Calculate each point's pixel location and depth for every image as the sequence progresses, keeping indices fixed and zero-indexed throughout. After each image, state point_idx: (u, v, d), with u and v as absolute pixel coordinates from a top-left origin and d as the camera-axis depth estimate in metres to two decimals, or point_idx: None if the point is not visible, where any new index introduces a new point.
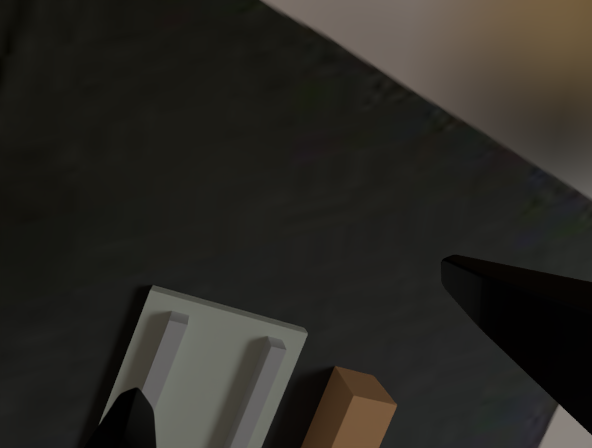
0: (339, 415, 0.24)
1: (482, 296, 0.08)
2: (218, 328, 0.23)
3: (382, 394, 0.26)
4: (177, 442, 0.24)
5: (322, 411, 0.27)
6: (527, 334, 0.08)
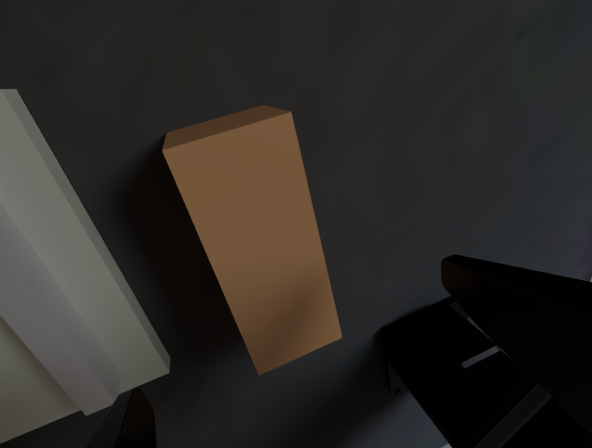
0: None
1: (482, 296, 0.08)
2: None
3: (261, 115, 0.11)
4: None
5: None
6: (527, 334, 0.08)
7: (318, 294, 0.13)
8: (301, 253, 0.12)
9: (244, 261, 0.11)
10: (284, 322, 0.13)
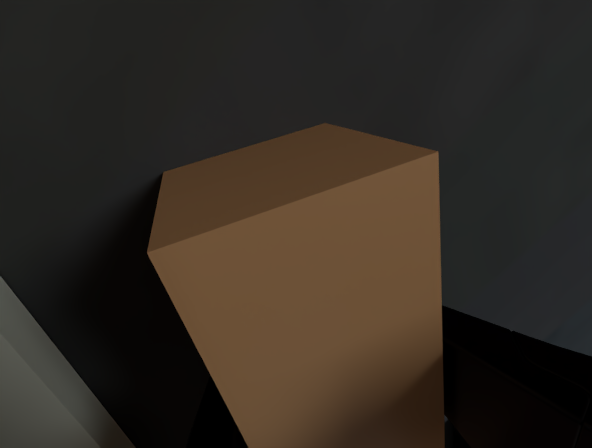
0: None
1: None
2: None
3: (354, 152, 0.05)
4: None
5: None
6: None
7: None
8: (408, 399, 0.07)
9: (309, 430, 0.06)
10: None
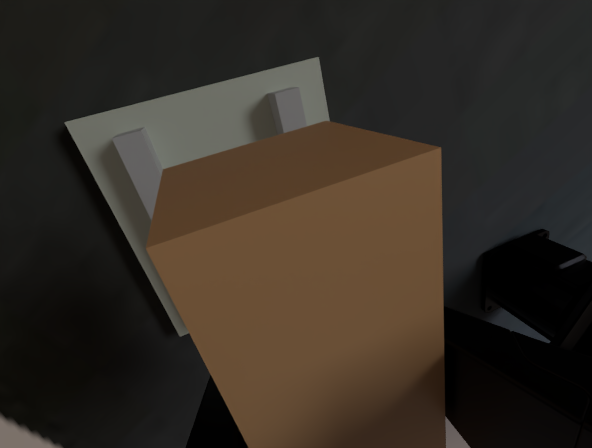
0: None
1: None
2: (195, 121, 0.15)
3: (356, 149, 0.05)
4: None
5: None
6: None
7: None
8: (410, 399, 0.06)
9: (310, 430, 0.06)
10: None
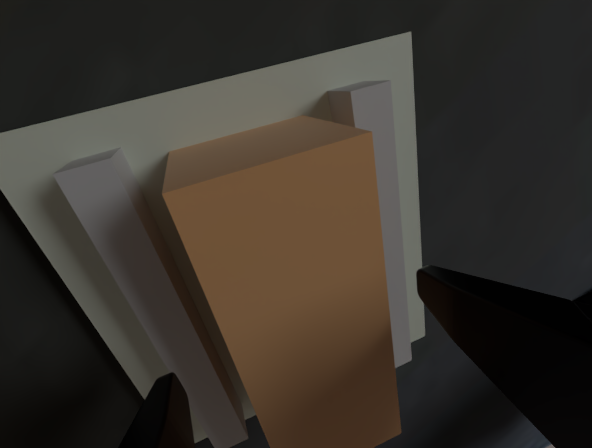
0: None
1: (454, 309, 0.08)
2: (209, 137, 0.09)
3: (316, 133, 0.07)
4: None
5: None
6: (497, 349, 0.07)
7: (378, 384, 0.09)
8: (362, 334, 0.08)
9: (281, 351, 0.08)
10: (330, 423, 0.09)
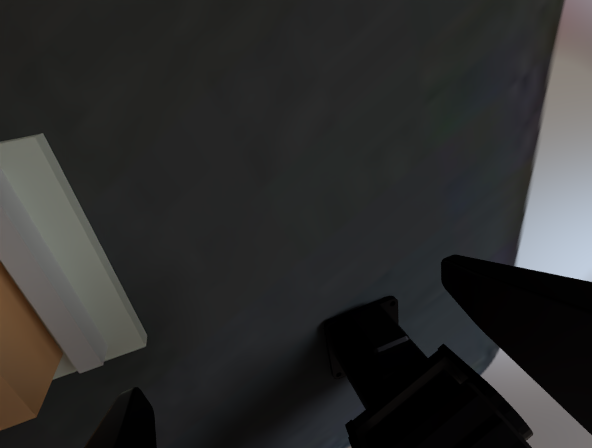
0: None
1: (482, 296, 0.08)
2: None
3: None
4: None
5: None
6: (527, 334, 0.08)
7: None
8: None
9: None
10: None
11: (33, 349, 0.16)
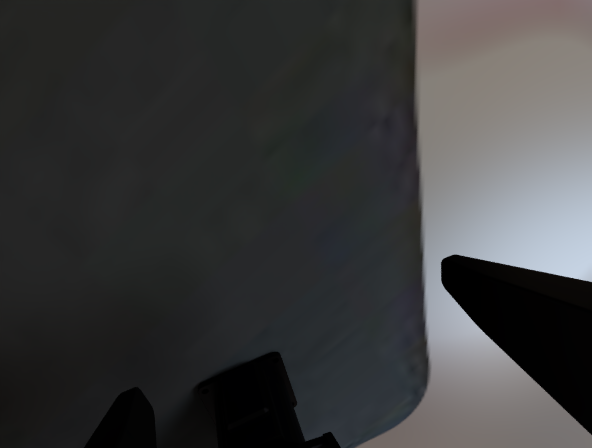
0: None
1: (482, 296, 0.08)
2: None
3: None
4: None
5: None
6: (527, 334, 0.08)
7: None
8: None
9: None
10: None
11: None
